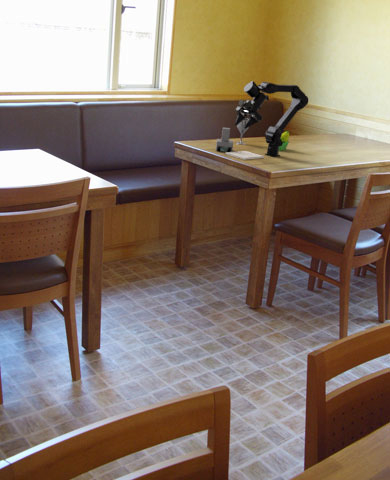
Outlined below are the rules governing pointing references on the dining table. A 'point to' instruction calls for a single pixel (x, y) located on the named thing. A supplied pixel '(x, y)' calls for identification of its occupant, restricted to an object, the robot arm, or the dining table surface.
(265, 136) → the robot arm
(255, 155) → the board
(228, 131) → the cover
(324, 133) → the dining table surface
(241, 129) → the wine glass
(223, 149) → the block
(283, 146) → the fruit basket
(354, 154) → the dining table surface
